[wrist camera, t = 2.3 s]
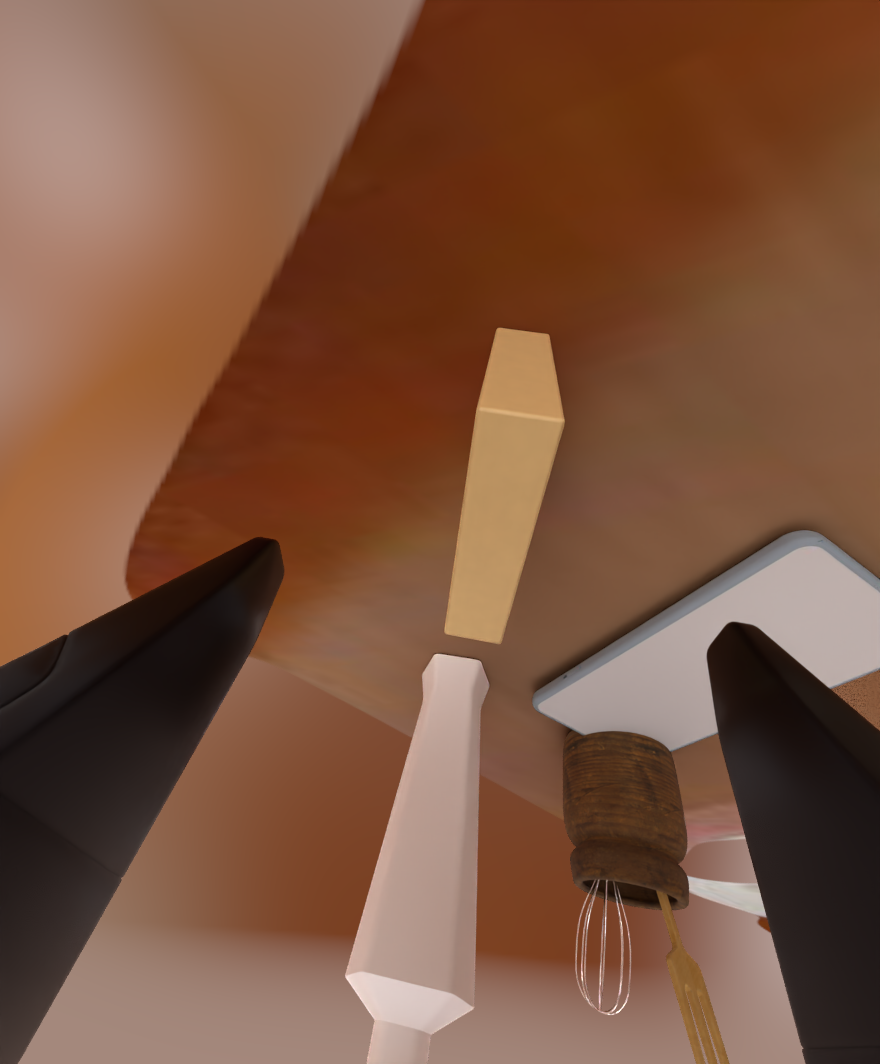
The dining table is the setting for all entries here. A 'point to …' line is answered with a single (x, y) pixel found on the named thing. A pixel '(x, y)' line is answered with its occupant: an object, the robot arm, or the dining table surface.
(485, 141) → the dining table surface
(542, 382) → the toast
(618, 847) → the utensil holder
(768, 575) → the smartphone
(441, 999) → the perfume bottle
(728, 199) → the dining table surface
